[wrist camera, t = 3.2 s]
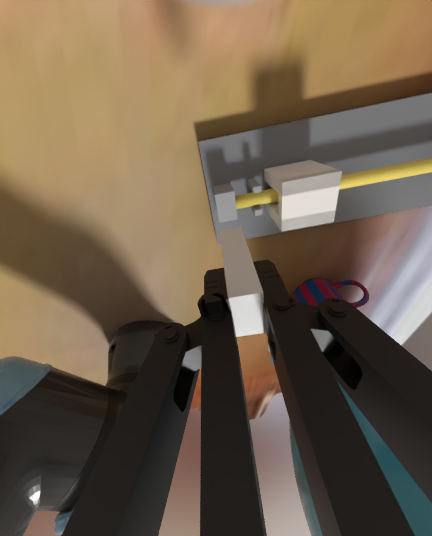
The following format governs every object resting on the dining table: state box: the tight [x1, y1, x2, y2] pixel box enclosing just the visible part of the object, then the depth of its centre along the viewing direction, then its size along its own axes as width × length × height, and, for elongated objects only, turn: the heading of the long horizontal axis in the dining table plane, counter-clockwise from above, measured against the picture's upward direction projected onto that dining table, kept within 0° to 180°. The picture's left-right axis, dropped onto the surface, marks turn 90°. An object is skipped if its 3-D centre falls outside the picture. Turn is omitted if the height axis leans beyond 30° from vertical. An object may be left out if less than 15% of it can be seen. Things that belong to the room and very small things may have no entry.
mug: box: [293, 279, 369, 308], centre depth 33 cm, size 7×10×7 cm
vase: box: [271, 355, 432, 536], centre depth 34 cm, size 17×17×30 cm
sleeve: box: [264, 160, 342, 231], centre depth 21 cm, size 5×5×6 cm
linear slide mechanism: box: [198, 92, 432, 244], centre depth 23 cm, size 30×12×6 cm, turn 100°
